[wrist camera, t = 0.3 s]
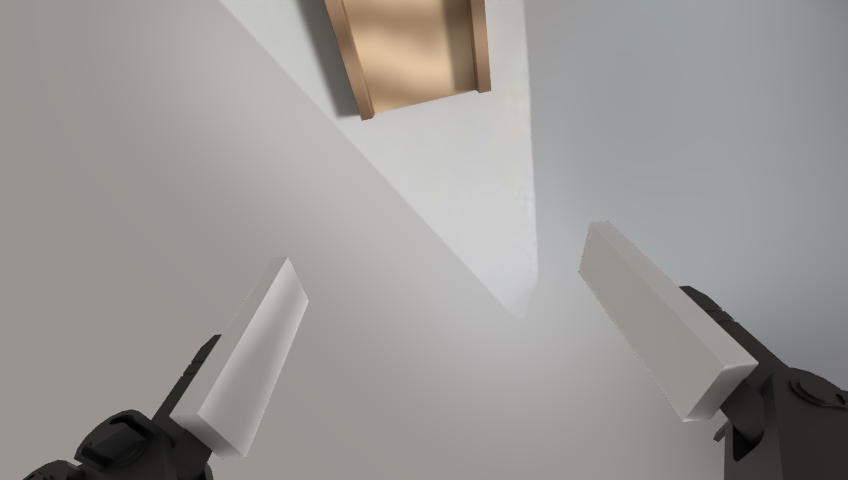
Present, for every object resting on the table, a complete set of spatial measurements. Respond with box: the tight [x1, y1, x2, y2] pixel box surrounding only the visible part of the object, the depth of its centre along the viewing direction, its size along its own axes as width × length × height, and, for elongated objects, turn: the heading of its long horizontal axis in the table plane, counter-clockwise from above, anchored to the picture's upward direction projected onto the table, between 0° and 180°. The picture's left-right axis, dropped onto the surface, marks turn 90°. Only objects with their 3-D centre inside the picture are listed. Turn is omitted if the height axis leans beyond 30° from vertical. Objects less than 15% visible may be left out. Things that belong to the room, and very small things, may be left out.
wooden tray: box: [324, 0, 491, 121], centre depth 28 cm, size 16×14×3 cm
